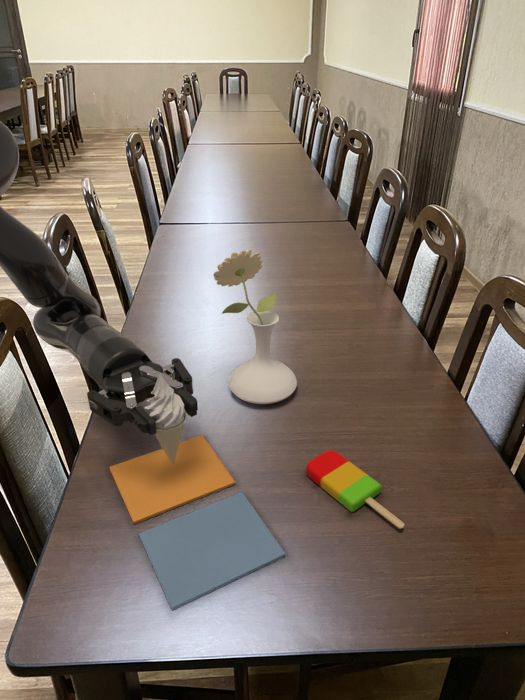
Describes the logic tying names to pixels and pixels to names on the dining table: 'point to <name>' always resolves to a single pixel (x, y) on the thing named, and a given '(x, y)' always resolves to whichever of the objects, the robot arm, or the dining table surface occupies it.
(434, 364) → the dining table surface
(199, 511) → the slate pad
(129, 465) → the caramel pad
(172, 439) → the ice cream cone
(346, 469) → the popsicle
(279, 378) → the flower in vase
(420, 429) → the dining table surface
